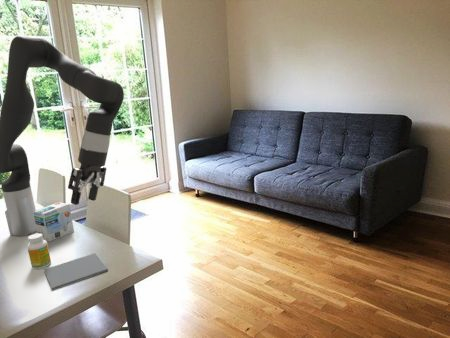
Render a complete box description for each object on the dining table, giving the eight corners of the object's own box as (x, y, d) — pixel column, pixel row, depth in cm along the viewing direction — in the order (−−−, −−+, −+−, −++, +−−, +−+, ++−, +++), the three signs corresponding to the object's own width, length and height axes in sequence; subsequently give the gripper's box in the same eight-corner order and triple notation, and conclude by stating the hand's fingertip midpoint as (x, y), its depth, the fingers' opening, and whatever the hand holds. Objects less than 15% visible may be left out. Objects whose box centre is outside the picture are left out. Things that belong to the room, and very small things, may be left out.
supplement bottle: (43, 269, 111) (36, 240, 109) (27, 269, 112) (21, 239, 110) (54, 261, 116) (48, 232, 114) (39, 260, 117) (33, 232, 115)
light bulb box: (49, 242, 131) (43, 213, 128) (38, 239, 134) (31, 211, 131) (75, 230, 139) (69, 203, 137) (64, 227, 143) (58, 201, 140)
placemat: (52, 290, 100) (51, 288, 99) (44, 271, 110) (43, 269, 110) (107, 270, 108) (107, 268, 107) (95, 254, 118) (95, 253, 118)
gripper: (96, 145, 115) (86, 195, 117) (67, 144, 101) (56, 201, 103) (118, 151, 114) (107, 202, 115) (91, 151, 100) (80, 209, 101)
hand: (83, 201), depth 109 cm, fingers open, 8 cm apart
